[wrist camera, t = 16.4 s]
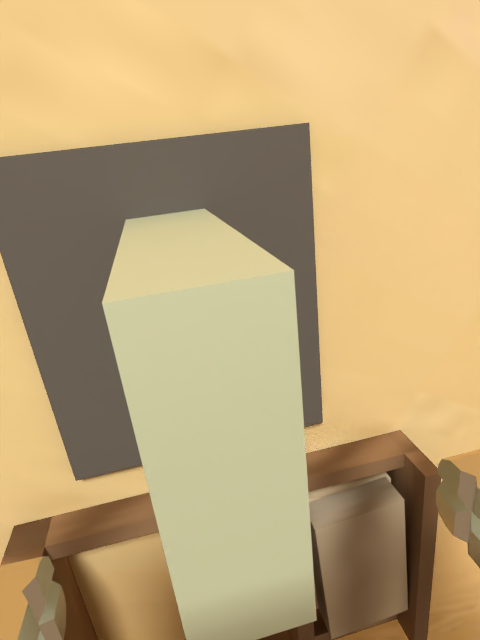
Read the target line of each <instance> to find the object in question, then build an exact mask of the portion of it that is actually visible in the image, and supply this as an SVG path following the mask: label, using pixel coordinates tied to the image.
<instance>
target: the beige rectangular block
mask: <svg viewBox="0 0 480 640" xmlns="http://www.w3.org/2000/svg"><path fill="white" fill-rule="evenodd" d="M102 305H103V309H104V313H105V317H106V321H107V325H108V329H109V333H110V337H111V341H112V345H113V349H114V353H115V357H116V361H117V365H118V369H119V373H120V377H121V381H122V385H123V389H124V393H125V397H126V401H127V405H128V409H129V413H130V417H131V421H132V425H133V429H134V433H135V437H136V441H137V445H138V449H139V453H140V457H141V461H142V465H143V469H144V473H145V477H146V481H147V485H148V489H149V493H150V497H151V501H152V505H153V509H154V513H155V517H156V521H157V525H158V529H159V533H160V537H161V541H162V545H163V549H164V553H165V557H166V561H167V565H168V569H169V573H170V577H171V581H172V585H173V589H174V593H175V597H176V601H177V605H178V609H179V613H180V617H181V621H182V625H183V629H184V633H185V637H186V640H257V639H260V638H264V637H267V636H270V635H273V634H276V633H279V632H282V631H286V630H289V629H292V628H295V627H298V626H301V625H304V624H308V623H311V622H314V621H317V617H316V602H315V586H314V571H313V556H312V540H311V525H310V510H309V494H308V479H307V463H306V448H305V433H304V417H303V402H302V387H301V371H300V356H299V341H298V325H297V310H296V295H295V279H294V270H293V269H292V268H290V267H289V266H287V265H286V264H284V263H283V262H281V261H280V260H278V259H277V258H276V257H274V256H273V255H271V254H270V253H268V252H267V251H265V250H264V249H263V248H261V247H260V246H258V245H257V244H255V243H254V242H252V241H251V240H249V239H248V238H247V237H245V236H244V235H242V234H241V233H239V232H238V231H236V230H235V229H234V228H232V227H231V226H229V225H228V224H226V223H225V222H223V221H222V220H220V219H219V218H218V217H216V216H215V215H213V214H212V213H210V212H209V211H207V210H206V209H198V210H191V211H184V212H176V213H169V214H162V215H155V216H148V217H141V218H134V219H127V220H126V221H125V224H124V228H123V231H122V235H121V238H120V242H119V245H118V249H117V252H116V256H115V259H114V263H113V266H112V270H111V273H110V277H109V280H108V284H107V287H106V291H105V294H104V298H103V301H102Z"/></svg>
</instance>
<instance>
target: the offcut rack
mask: <svg viewBox="0 0 480 640" xmlns="http://www.w3.org/2000/svg"><path fill="white" fill-rule="evenodd" d="M306 463H307V479H308V492H311V491H315V490H319V489H322V488H326V487H330V486H334V485H338V484H341V483H345V482H349V481H353V480H356V479H360V478H364V477H368V476H372V475H375V474H379V473H383V472H386V473H387V474H388V475H389V477H390V478H391V484H392V485H393V486H394V488H395V489H396V490H397V491H398V493H399V494H400V495H401V496H402V498H403V499H404V505H405V534H406V563H407V592H408V610H406V611H403V612H401V613H398V614H396V615H393V616H391V617H388V618H386V619H383V620H380V621H378V622H375V623H373V624H370V625H368V626H365V627H362V628H360V629H357V630H355V631H352V632H350V633H347V634H345V635H342V636H339V637H337V638H340V637H343V636H347V635H350V634H353V633H356V632H359V631H362V630H365V629H368V628H371V627H374V626H377V625H380V624H383V623H386V622H389V621H392V620H395V619H398V621H399V623H400V625H401V627H402V628H403V630H404V632H405V634H406V635H407V637H408V639H409V640H427V634H428V623H429V611H430V600H431V588H432V577H433V565H434V554H435V542H436V531H437V519H438V508H437V505H436V489H437V488H438V487H439V485H440V484H441V477H440V476H439V475H438V468H437V467H436V466H435V465H434V464H433V463H432V462H431V461H430V460H429V459H428V458H427V457H426V456H425V455H424V454H423V453H422V452H421V451H420V450H419V449H418V448H417V447H416V446H415V445H414V444H413V443H412V442H411V441H410V439H409V438H408V437H407V436H406V435H405V434H404V433H403V432H402V431H401V430H400V431H396V432H392V433H388V434H384V435H380V436H375V437H371V438H367V439H363V440H359V441H355V442H351V443H347V444H343V445H339V446H335V447H331V448H327V449H323V450H319V451H315V452H311V453H307V454H306ZM156 532H159V529H158V525H157V521H156V517H155V513H154V509H153V505H152V501H151V497H150V493H146V494H142V495H138V496H134V497H130V498H126V499H122V500H118V501H114V502H110V503H106V504H102V505H98V506H94V507H90V508H86V509H81V510H77V511H73V512H69V513H65V514H61V515H57V516H53V517H49V518H45V519H41V520H37V521H33V522H29V523H25V524H21V525H17V526H14V528H13V531H12V534H11V537H10V540H9V542H8V545H7V548H6V551H5V554H4V557H3V559H2V562H1V565H6V564H10V563H15V562H20V561H24V560H29V559H34V558H38V557H43V556H47V557H49V558H50V560H51V562H52V565H53V567H54V573H53V577H52V581H54V582H56V583H58V584H60V585H61V587H62V590H63V592H64V596H65V601H66V628H65V634H64V640H98V639H97V636H96V633H95V631H94V628H93V625H92V623H91V620H90V617H89V615H88V612H87V609H86V606H85V604H84V601H83V598H82V596H81V593H80V590H79V588H78V585H77V582H76V580H75V577H74V574H73V572H72V569H71V566H70V564H69V561H68V558H67V556H69V555H73V554H77V553H80V552H84V551H88V550H92V549H95V548H99V547H103V546H107V545H111V544H114V543H118V542H122V541H126V540H130V539H133V538H137V537H141V536H145V535H148V534H152V533H156ZM1 565H0V566H1ZM316 617H317V621H314V622H311V623H308V624H304V625H301V626H298V627H295V628H292V629H289V630H286V631H282V632H279V633H276V634H273V635H270V636H267V637H264V638H260V639H257V640H331V637H330V635H329V632H328V630H327V627H326V625H325V623H324V620H323V618H322V615H321V613H320V610H319V608H318V609H316ZM337 638H334V639H337ZM334 639H332V640H334Z"/></svg>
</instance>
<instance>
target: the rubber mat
mask: <svg viewBox="0 0 480 640" xmlns="http://www.w3.org/2000/svg"><path fill="white" fill-rule="evenodd" d="M198 209H206V210H207V211H209V212H210V213H212V214H213V215H215V216H216V217H218V218H219V219H220V220H222V221H223V222H225V223H226V224H228V225H229V226H231V227H232V228H234V229H235V230H236V231H238V232H239V233H241V234H242V235H244V236H245V237H247V238H248V239H249V240H251V241H252V242H254V243H255V244H257V245H258V246H260V247H261V248H263V249H264V250H265V251H267V252H268V253H270V254H271V255H273V256H274V257H276V258H277V259H278V260H280V261H281V262H283V263H284V264H286V265H287V266H289V267H290V268H292V269H293V270H294V279H295V295H296V310H297V325H298V341H299V356H300V371H301V387H302V402H303V417H304V427H305V426H309V425H313V424H317V423H322V422H323V419H322V397H321V375H320V353H319V331H318V309H317V287H316V265H315V243H314V220H313V198H312V176H311V154H310V132H309V123H303V124H294V125H285V126H276V127H267V128H258V129H249V130H240V131H231V132H222V133H213V134H204V135H195V136H186V137H177V138H168V139H159V140H150V141H141V142H132V143H124V144H115V145H106V146H97V147H88V148H79V149H70V150H61V151H52V152H43V153H34V154H25V155H16V156H7V157H0V253H1V256H2V259H3V262H4V265H5V268H6V271H7V274H8V277H9V280H10V283H11V286H12V289H13V292H14V295H15V298H16V301H17V304H18V307H19V310H20V313H21V316H22V319H23V322H24V325H25V328H26V331H27V334H28V337H29V340H30V343H31V346H32V349H33V352H34V355H35V359H36V362H37V365H38V368H39V371H40V374H41V377H42V380H43V383H44V386H45V389H46V392H47V395H48V398H49V401H50V404H51V407H52V410H53V413H54V416H55V419H56V422H57V425H58V428H59V431H60V434H61V437H62V440H63V443H64V446H65V449H66V452H67V455H68V458H69V461H70V464H71V467H72V470H73V473H74V476H75V479H76V481H77V480H81V479H85V478H89V477H94V476H98V475H102V474H106V473H111V472H115V471H119V470H123V469H127V468H132V467H136V466H140V465H142V461H141V457H140V453H139V449H138V445H137V441H136V437H135V433H134V429H133V425H132V421H131V417H130V413H129V409H128V405H127V401H126V397H125V393H124V389H123V385H122V381H121V377H120V373H119V369H118V365H117V361H116V357H115V353H114V349H113V345H112V341H111V337H110V333H109V329H108V325H107V321H106V317H105V313H104V309H103V305H102V301H103V298H104V294H105V291H106V287H107V284H108V280H109V277H110V273H111V270H112V266H113V263H114V259H115V256H116V252H117V249H118V245H119V242H120V238H121V235H122V231H123V228H124V224H125V221H126V220H127V219H134V218H141V217H148V216H155V215H162V214H169V213H176V212H184V211H191V210H198Z"/></svg>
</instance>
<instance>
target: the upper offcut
mask: <svg viewBox="0 0 480 640" xmlns="http://www.w3.org/2000/svg"><path fill="white" fill-rule="evenodd" d="M309 510H310V525H311V540H312V556H313V571H314V580H315V586H316V593H317V599H318V605H319V610H320V613H321V615H322V618H323V620H324V623H325V625H326V627H327V630H328V632H329V635H330V637H331V640H332V639H334V638H337V637H339V636H342V635H345V634H347V633H350V632H352V631H355V630H357V629H360V628H362V627H365V626H368V625H370V624H373V623H375V622H378V621H380V620H383V619H386V618H388V617H391V616H393V615H396V614H398V613H401V612H403V611H406V610H408V592H407V563H406V534H405V505H404V499H403V498H402V496H401V495H400V494H399V493H398V491H397V490H396V489H395V488H394V486H393V485H392V484H391V483H390V481H389V480H388V479H387V478H386V476H385V477H382V478H379V479H376V480H373V481H371V482H368V483H365V484H362V485H359V486H356V487H353V488H350V489H347V490H344V491H341V492H338V493H335V494H332V495H329V496H326V497H323V498H320V499H317V500H314V501H311V502H309Z"/></svg>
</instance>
